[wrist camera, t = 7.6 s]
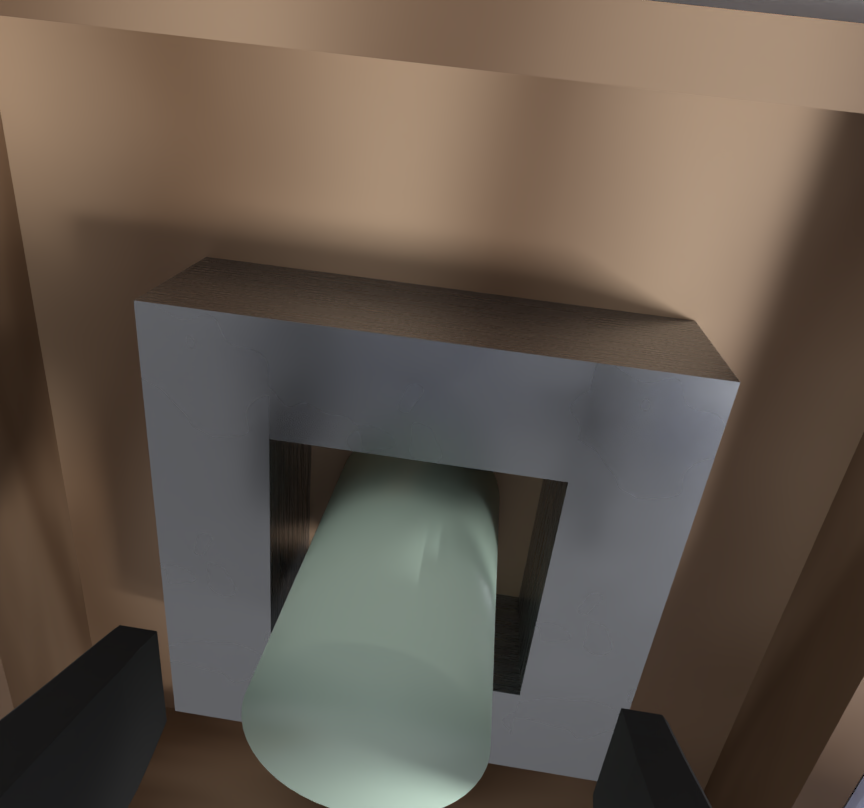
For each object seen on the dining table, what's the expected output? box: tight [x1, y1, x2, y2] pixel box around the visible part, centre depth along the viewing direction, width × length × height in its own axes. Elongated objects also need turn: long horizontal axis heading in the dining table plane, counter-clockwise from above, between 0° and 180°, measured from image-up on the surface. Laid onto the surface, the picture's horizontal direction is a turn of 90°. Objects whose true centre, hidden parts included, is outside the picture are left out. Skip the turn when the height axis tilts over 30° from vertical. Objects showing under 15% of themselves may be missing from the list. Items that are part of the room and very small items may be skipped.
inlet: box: [134, 257, 740, 781], centre depth 15 cm, size 10×10×3 cm
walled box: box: [0, 0, 864, 808], centre depth 15 cm, size 20×20×4 cm
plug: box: [241, 451, 499, 808], centre depth 13 cm, size 4×4×6 cm
